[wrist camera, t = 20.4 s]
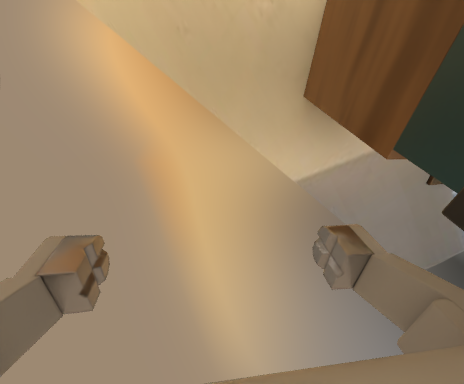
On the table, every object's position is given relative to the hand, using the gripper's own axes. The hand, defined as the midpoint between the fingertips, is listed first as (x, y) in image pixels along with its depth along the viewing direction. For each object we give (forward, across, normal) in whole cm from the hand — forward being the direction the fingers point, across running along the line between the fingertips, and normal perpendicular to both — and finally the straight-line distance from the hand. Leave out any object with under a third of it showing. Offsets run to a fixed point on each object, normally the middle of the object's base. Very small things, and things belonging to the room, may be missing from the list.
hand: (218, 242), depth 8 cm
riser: (+29, +22, +8) cm, 37 cm away
